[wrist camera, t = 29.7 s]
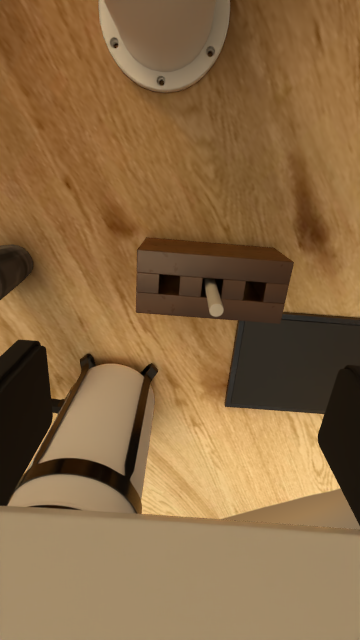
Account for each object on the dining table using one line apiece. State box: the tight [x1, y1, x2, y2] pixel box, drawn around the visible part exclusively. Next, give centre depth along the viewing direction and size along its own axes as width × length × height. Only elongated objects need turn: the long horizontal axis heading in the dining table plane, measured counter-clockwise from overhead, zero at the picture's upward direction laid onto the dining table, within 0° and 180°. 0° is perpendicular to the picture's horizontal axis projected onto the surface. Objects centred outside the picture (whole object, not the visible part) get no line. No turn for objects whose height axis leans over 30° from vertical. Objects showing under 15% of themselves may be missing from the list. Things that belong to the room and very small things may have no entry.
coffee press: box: [6, 354, 158, 514], centre depth 35 cm, size 17×16×30 cm
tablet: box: [225, 312, 360, 414], centre depth 46 cm, size 22×16×1 cm
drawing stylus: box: [203, 278, 224, 317], centre depth 35 cm, size 1×1×14 cm
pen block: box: [136, 238, 294, 324], centre depth 38 cm, size 7×16×8 cm, turn 86°
